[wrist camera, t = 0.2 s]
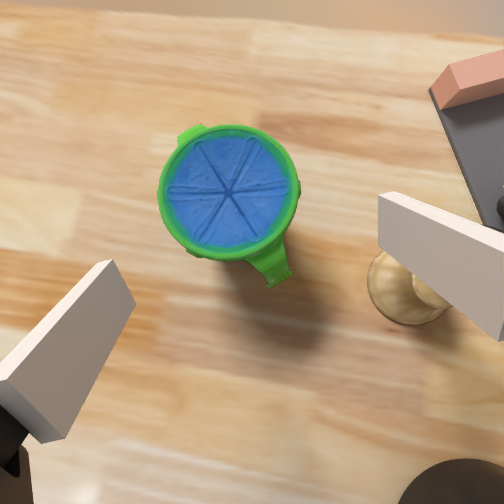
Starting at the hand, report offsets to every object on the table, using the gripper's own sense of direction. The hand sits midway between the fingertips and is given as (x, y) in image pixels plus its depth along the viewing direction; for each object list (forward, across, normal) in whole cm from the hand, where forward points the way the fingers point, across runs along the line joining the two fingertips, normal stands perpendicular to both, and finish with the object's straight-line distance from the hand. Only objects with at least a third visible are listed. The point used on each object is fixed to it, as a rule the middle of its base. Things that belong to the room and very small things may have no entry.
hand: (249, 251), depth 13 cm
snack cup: (+16, +1, +4) cm, 16 cm away
